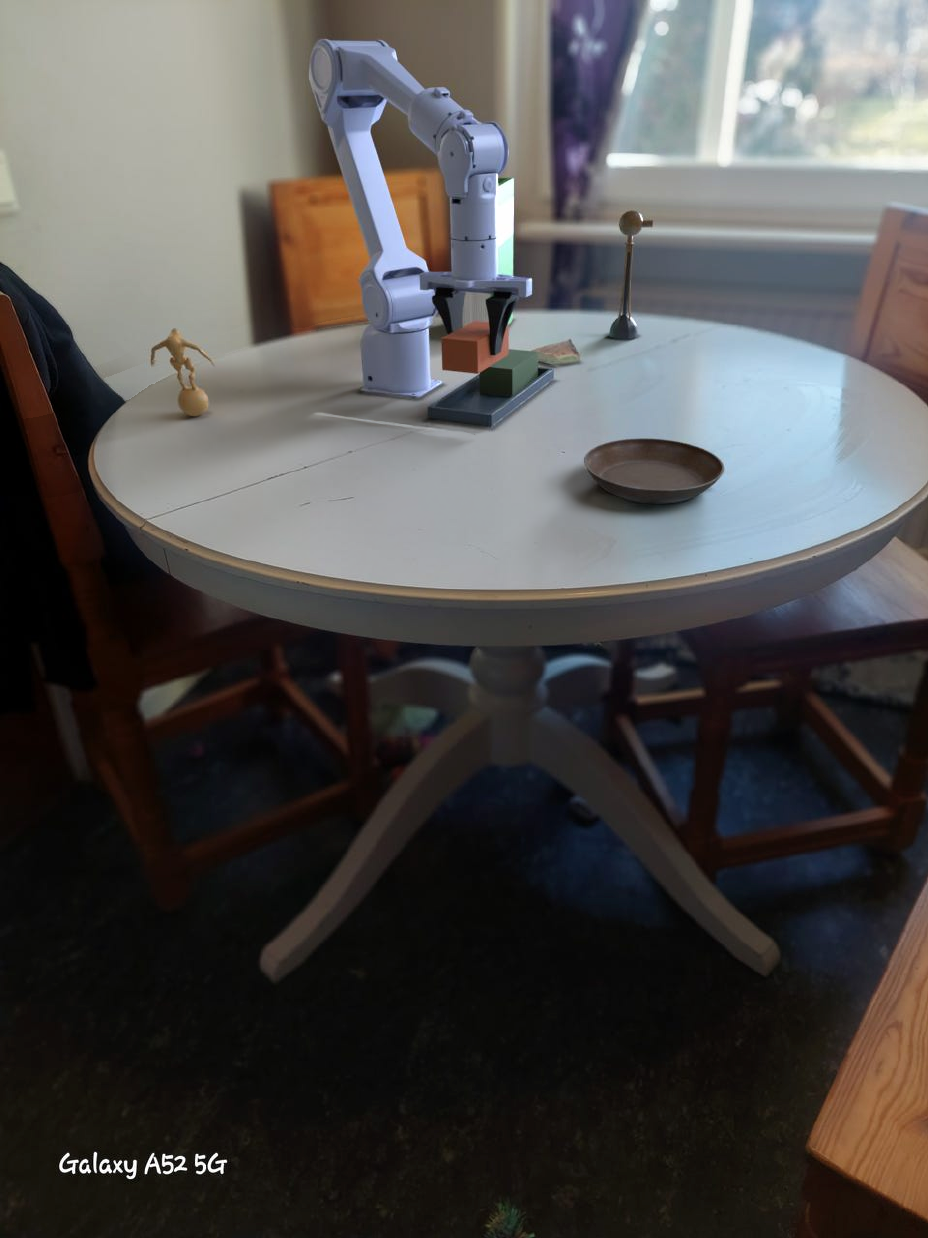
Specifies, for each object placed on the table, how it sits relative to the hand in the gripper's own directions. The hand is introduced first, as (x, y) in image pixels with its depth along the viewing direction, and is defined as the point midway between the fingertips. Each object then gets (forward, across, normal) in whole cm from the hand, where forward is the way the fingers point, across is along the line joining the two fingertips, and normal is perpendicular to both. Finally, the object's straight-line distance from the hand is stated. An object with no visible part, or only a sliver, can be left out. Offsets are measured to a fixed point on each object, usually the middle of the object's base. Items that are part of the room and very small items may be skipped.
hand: (475, 351), depth 113 cm
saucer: (+8, +28, -15) cm, 33 cm away
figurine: (+9, -35, -16) cm, 39 cm away
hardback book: (+9, -19, +44) cm, 49 cm away
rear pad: (+8, 0, +12) cm, 15 cm away
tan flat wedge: (+9, -1, +31) cm, 32 cm away
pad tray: (+8, 0, +7) cm, 11 cm away
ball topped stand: (+8, +7, +49) cm, 50 cm away
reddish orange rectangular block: (+1, 0, 0) cm, 1 cm away
